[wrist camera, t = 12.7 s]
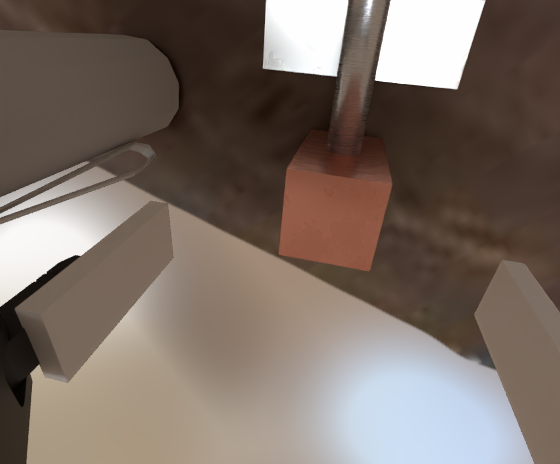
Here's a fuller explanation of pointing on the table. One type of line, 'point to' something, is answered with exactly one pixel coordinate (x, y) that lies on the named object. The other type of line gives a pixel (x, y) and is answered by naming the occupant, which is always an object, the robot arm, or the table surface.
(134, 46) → the water bottle
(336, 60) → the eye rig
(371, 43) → the mallet
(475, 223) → the table surface
